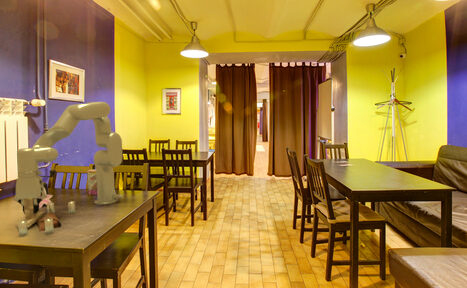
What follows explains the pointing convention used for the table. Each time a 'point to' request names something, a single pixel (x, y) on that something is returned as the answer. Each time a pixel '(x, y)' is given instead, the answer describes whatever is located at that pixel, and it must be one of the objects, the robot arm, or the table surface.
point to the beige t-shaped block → (31, 212)
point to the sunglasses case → (50, 215)
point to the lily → (45, 199)
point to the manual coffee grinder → (52, 173)
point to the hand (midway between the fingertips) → (31, 212)
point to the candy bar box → (92, 182)
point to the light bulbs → (48, 222)
